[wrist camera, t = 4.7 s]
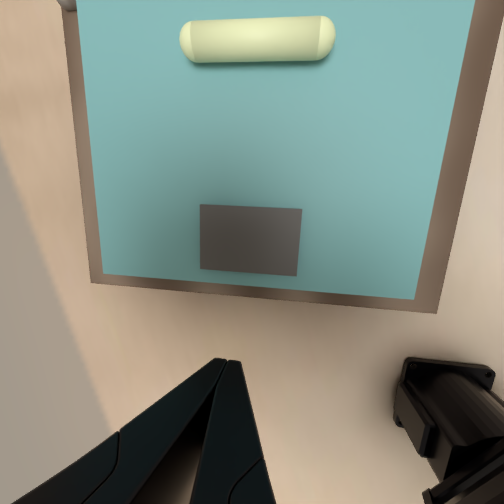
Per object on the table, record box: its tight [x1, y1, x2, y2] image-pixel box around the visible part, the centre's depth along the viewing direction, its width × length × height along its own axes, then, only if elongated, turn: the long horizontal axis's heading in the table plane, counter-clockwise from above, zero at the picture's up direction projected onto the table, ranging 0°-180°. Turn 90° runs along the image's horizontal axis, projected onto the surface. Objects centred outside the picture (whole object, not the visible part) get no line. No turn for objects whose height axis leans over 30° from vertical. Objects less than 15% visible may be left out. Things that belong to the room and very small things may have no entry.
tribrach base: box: [57, 0, 504, 314], centre depth 16 cm, size 25×20×4 cm
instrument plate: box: [76, 0, 475, 300], centre depth 14 cm, size 20×17×3 cm
